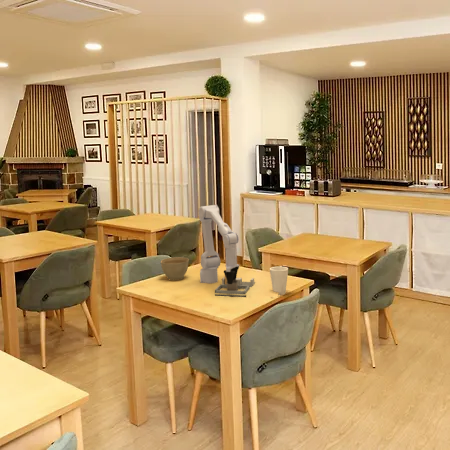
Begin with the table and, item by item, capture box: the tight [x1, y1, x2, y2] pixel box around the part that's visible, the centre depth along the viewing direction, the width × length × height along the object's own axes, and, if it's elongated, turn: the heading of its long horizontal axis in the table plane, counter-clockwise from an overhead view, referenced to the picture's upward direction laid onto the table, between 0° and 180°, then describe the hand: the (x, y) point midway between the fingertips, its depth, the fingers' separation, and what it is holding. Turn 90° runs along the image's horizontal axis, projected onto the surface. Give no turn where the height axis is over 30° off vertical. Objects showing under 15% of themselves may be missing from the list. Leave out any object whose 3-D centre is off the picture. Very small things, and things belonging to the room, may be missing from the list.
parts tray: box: [214, 284, 251, 298], centre depth 291 cm, size 16×11×3 cm
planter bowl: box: [160, 256, 190, 281], centre depth 325 cm, size 16×16×11 cm
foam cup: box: [269, 266, 289, 296], centre depth 288 cm, size 10×9×13 cm
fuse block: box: [221, 276, 256, 288], centre depth 303 cm, size 10×17×4 cm, turn 75°
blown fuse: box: [226, 280, 239, 291], centre depth 291 cm, size 5×3×6 cm, turn 76°
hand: (231, 281), depth 290 cm, fingers open, 7 cm apart
